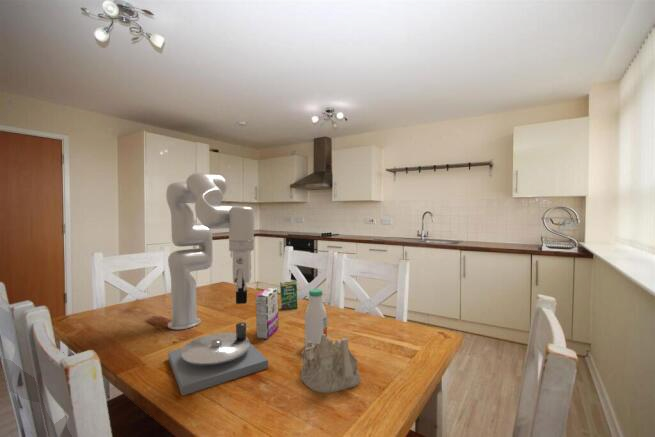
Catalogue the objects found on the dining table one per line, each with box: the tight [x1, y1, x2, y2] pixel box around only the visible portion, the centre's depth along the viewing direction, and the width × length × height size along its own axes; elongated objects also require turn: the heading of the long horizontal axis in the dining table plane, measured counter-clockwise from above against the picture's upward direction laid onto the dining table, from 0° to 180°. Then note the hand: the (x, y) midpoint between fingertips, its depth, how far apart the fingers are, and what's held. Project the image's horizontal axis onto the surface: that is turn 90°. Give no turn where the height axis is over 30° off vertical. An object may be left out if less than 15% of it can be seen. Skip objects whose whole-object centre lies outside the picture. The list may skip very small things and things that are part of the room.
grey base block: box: [167, 341, 269, 397], centre depth 96 cm, size 24×24×4 cm
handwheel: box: [181, 321, 250, 366], centre depth 96 cm, size 20×20×7 cm
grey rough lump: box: [300, 334, 361, 394], centre depth 89 cm, size 16×16×15 cm
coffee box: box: [279, 280, 298, 311], centre depth 150 cm, size 8×3×13 cm, turn 103°
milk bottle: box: [304, 288, 328, 348], centre depth 107 cm, size 8×8×20 cm
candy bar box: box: [255, 287, 279, 340], centre depth 119 cm, size 11×5×16 cm, turn 168°
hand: (241, 302), depth 97 cm, fingers closed
